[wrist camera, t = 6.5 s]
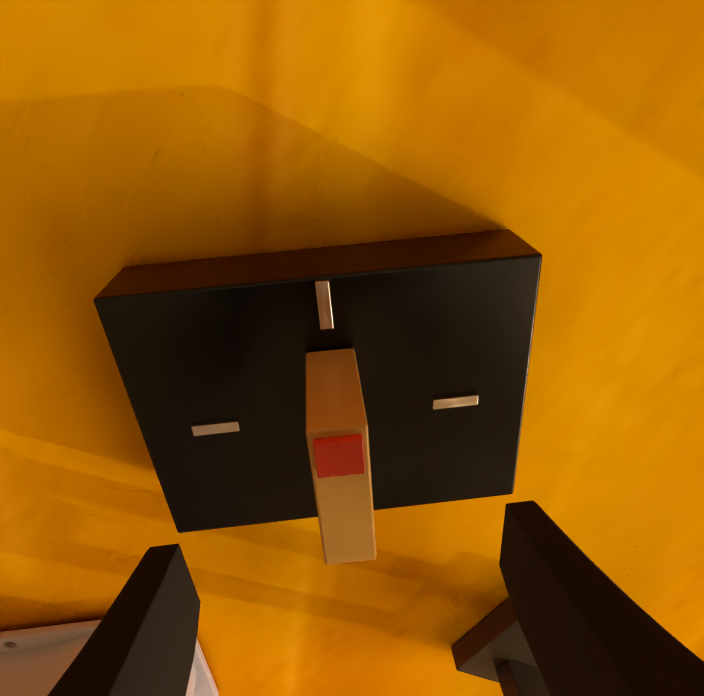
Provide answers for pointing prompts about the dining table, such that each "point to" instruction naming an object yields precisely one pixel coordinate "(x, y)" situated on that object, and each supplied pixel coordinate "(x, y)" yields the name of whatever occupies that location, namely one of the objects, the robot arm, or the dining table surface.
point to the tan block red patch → (340, 456)
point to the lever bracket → (500, 654)
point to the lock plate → (322, 335)
